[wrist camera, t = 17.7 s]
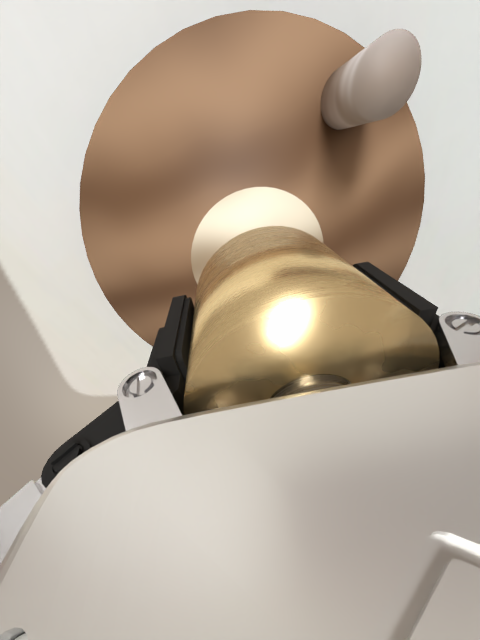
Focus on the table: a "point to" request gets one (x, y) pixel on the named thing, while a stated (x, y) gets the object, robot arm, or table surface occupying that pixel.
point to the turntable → (250, 154)
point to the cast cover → (294, 323)
